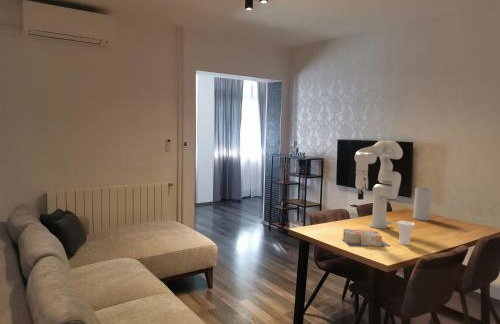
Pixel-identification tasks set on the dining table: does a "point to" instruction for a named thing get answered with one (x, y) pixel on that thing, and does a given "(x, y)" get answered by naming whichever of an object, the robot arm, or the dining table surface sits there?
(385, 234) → the dining table surface
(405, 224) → the cup
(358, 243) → the rubber mat
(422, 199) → the cylinder vase
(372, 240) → the stack of blocks
